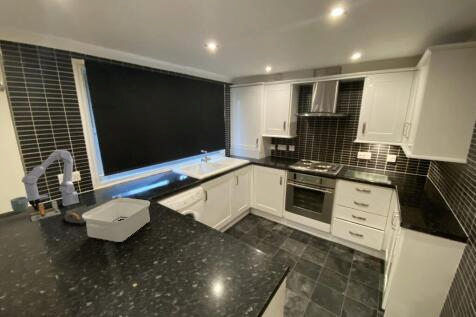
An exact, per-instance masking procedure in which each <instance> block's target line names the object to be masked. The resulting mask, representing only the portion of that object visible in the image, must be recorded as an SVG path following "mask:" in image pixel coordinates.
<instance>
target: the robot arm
mask: <svg viewBox="0 0 476 317" xmlns="http://www.w3.org/2000/svg"><path fill="white" fill-rule="evenodd" d="M57 160H58V161H60V160H61V161H62V162H63V173H62V175H63V176H62V181H61V183H60V185H59V187H58V191H59V192H61V198H62V202H61V204H62V206H64V207H65V206H66V207H67V206H70V205H74V204H78V203H79V202H80V201H79V196H78V192H77V191H75V190H76V189H75V187H74V183H73V167H74V159H73V157H72V154H71V152H70V151H68V150H66V149H65V150H63V149H56V150H54V151H52V152H51V154H50V155H49V156H48V157H47V158H46V159H45V160H44V161H43V162H42V163H41V164H40V165H39V166H37V165H36V166H35V167H33V168H32V170H31V171H30V172H29V173H27V174H26V175H24V176H23V177H22V179H21V183H23V184H24V188H25V193H26V198H27V199H23V200H19V201H18V203H19V204H21V203H25V202H28V205H29V204H30V206H32V207H33V209H34V211H38V209H39V206H38V204H40V201H41V200H43V199H48V198H49V195H48V194H45V195H44V194H43V195H40V193H39V190H38V185H37V182H38V180H39V178H40V177H41V176H42V175H43V174H44V173H45V172H46V168H48V167H49V166H50V165H52V163H54V162H55V161H57Z"/></svg>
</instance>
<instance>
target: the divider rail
mask: <svg viewBox="0 0 476 317" xmlns="http://www.w3.org/2000/svg"><path fill="white" fill-rule="evenodd" d="M51 205H52V208H47V209H44V210H45V213H47V212H51V211H55V210H56V211H58V210H59V206H58V203H57V200H52V201H51ZM39 214H40V210H39V211H36V212H33V213H30V217H31V216H35V215H39Z"/></svg>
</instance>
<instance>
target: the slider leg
mask: <svg viewBox="0 0 476 317" xmlns="http://www.w3.org/2000/svg"><path fill="white" fill-rule="evenodd" d="M38 209H39V211H40V214H43V215H44V213H45V210H46V209H45V206H44V203H39V204H38Z"/></svg>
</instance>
